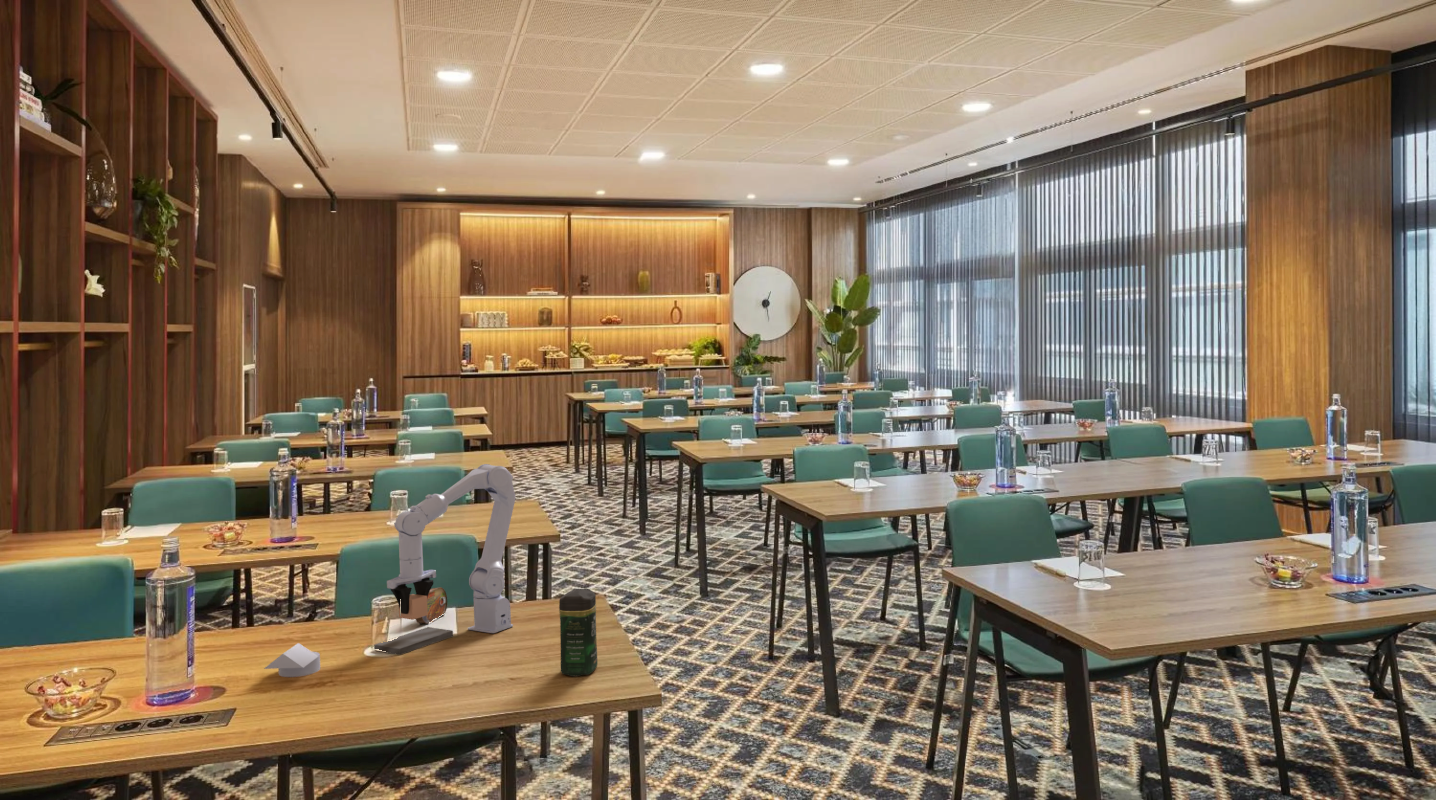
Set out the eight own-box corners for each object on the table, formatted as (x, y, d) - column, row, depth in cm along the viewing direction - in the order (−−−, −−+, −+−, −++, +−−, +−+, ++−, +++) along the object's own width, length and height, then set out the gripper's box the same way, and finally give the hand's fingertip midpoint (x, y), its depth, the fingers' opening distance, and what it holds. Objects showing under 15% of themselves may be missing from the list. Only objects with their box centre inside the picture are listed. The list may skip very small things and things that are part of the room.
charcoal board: (453, 636, 255) (452, 630, 255) (399, 654, 240) (399, 648, 239) (428, 632, 260) (428, 626, 260) (374, 650, 244) (374, 644, 244)
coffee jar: (591, 677, 218) (589, 595, 217) (557, 677, 218) (554, 595, 218) (601, 664, 227) (599, 585, 227) (568, 664, 228) (566, 585, 227)
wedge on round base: (304, 682, 220) (326, 664, 233) (302, 652, 220) (325, 636, 233) (264, 683, 220) (288, 665, 233) (262, 653, 220) (287, 638, 233)
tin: (422, 627, 265) (421, 596, 265) (412, 626, 266) (411, 596, 266) (449, 613, 280) (447, 584, 280) (438, 613, 281) (437, 584, 280)
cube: (427, 614, 250) (426, 595, 250) (412, 619, 246) (411, 600, 246) (414, 612, 253) (413, 593, 253) (398, 617, 248) (398, 598, 248)
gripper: (421, 551, 257) (423, 602, 258) (377, 562, 245) (379, 615, 245) (440, 553, 254) (442, 605, 254) (397, 564, 241) (399, 618, 242)
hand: (413, 610), depth 249 cm, fingers closed on cube, 5 cm apart
